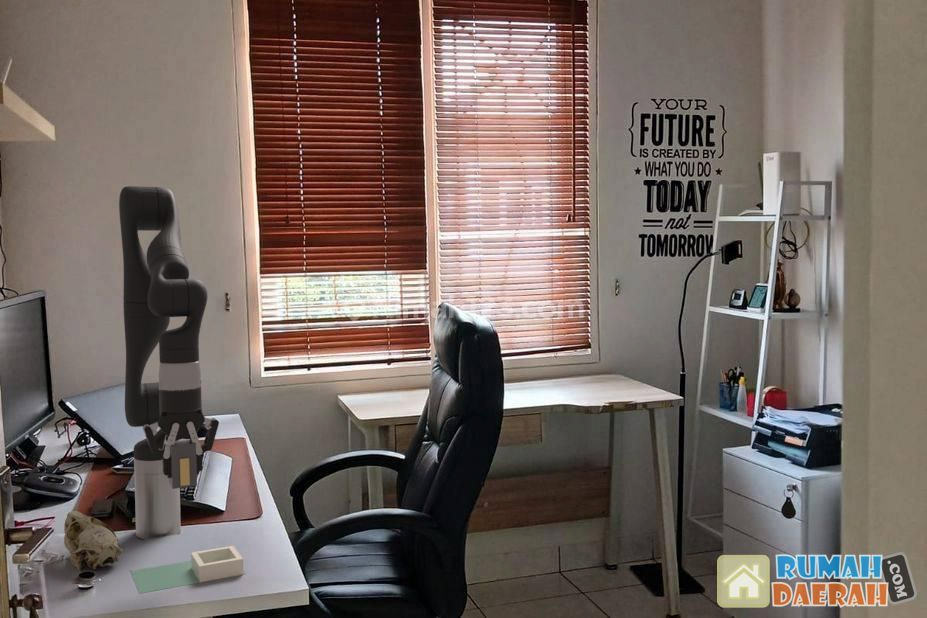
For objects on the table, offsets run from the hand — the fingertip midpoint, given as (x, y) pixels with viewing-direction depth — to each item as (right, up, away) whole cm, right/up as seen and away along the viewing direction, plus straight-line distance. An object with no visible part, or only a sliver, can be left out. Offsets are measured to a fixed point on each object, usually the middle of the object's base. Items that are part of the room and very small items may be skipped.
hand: (182, 475), depth 159 cm
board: (+1, -20, +1) cm, 20 cm away
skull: (-20, -19, +7) cm, 29 cm away
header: (+6, -19, +1) cm, 20 cm away
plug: (0, -2, 0) cm, 2 cm away
